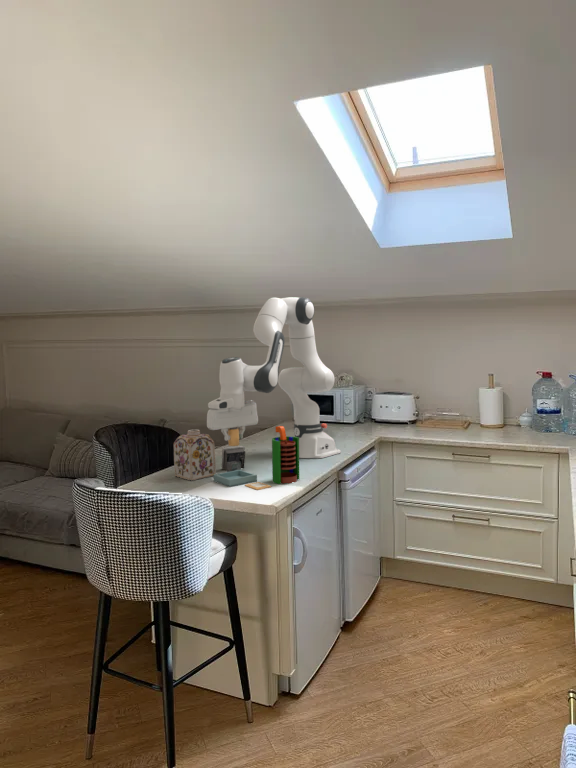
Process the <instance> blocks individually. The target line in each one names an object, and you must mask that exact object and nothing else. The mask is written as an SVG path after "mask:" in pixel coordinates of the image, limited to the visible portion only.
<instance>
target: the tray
mask: <svg viewBox="0 0 576 768" xmlns="http://www.w3.org/2000/svg"><path fill="white" fill-rule="evenodd" d="M213 482H216V483H217V482H218V483H217V484H221V485H223V486H226V487H229V488H231V487H237V486H242V485H246V484H251V483H256V482H258V474H255V473H254V472H253V473H252V472H249V471H246V470H242V469H241V470H235V471H230V472H227V471H225V472H220V473H216V474H214V476H213Z"/></svg>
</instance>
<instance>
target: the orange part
mask: <svg viewBox="0 0 576 768" xmlns="http://www.w3.org/2000/svg"><path fill="white" fill-rule="evenodd" d="M239 431H240V429H239V427H233V428H228V431H227V434H228V435H230V440H228V441H227V443H228V447H237V446H240V439H239Z"/></svg>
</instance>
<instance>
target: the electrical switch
mask: <svg viewBox="0 0 576 768" xmlns="http://www.w3.org/2000/svg"><path fill="white" fill-rule="evenodd" d="M221 452H222V454H221V470H225V471H227V466H226V462H232V461H237V462H241V468H243V469H244V468H245V459H246V447H245V446H244V445H238V446H228V447H223V448H222V451H221Z"/></svg>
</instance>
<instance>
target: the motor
mask: <svg viewBox="0 0 576 768" xmlns="http://www.w3.org/2000/svg"><path fill="white" fill-rule="evenodd" d="M275 433H279V436H276V437H272V438H271V462H272V463H271V465H272V466H271V468H272V470H271V471H272V483H274V484H276V483H277V485H281V484H284V483H288V484H293V483H292V482H294V483H296V482H297V481H298V480H297V479H299V480H300V458H299V438H298V437H295V436H289V435H288V436H287V434H286V429H285V426H283V425H278V426H275Z"/></svg>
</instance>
